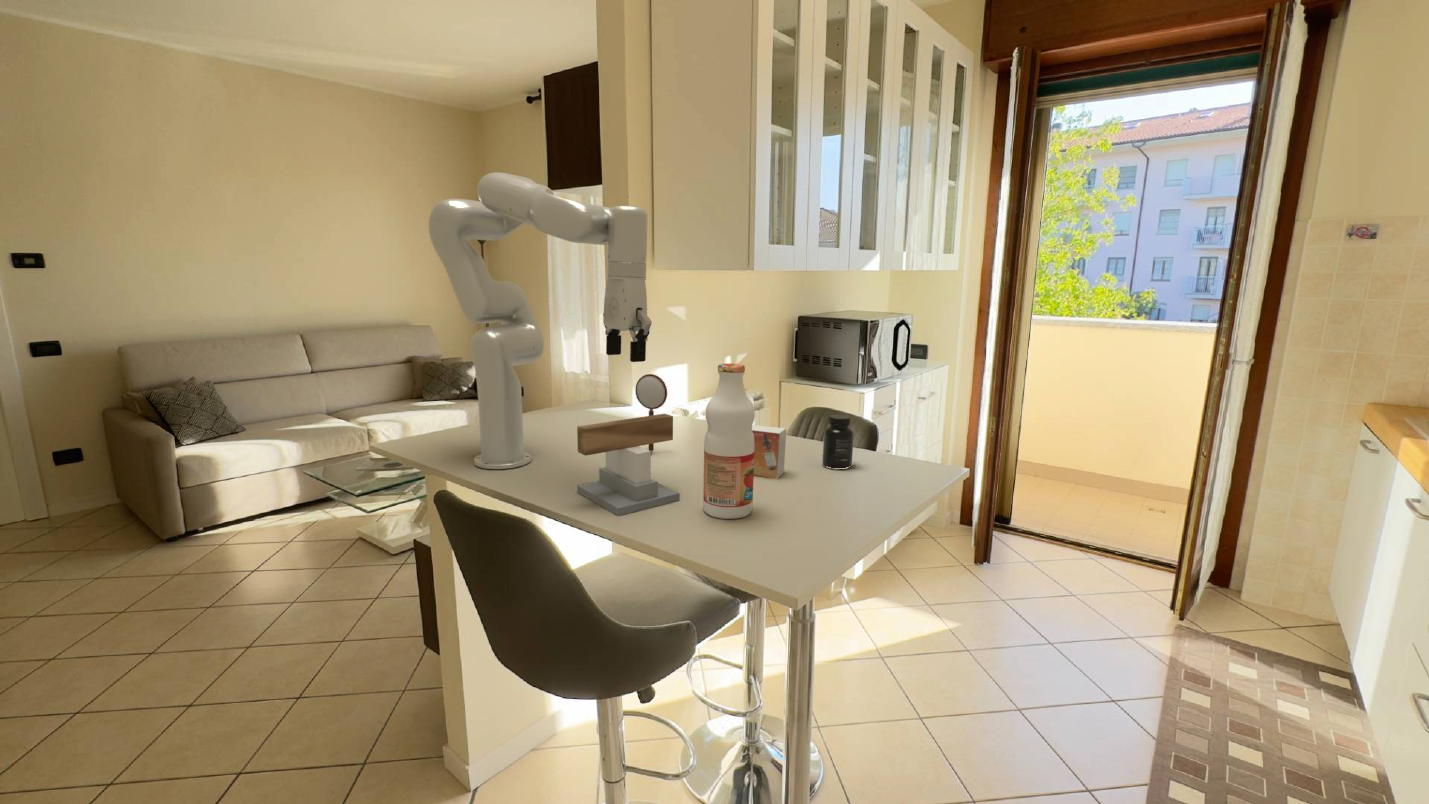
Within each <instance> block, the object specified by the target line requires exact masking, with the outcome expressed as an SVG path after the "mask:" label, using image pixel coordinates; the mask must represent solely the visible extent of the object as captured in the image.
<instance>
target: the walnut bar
mask: <svg viewBox="0 0 1429 804" xmlns="http://www.w3.org/2000/svg"><path fill="white" fill-rule="evenodd" d="M576 427H577V428H576V429H577V432H576V433H577V435H576V436H577V453H579V454H581V455H583V456H585V457H586V456H591V455H596V454H603V453H606V452H609V451H614V450H620V449H625V448H631V447H637V446H639V447H642V446H646V445H648V446H649V444H653V443H654V444H657V443H659V444H660V443H663V442H664V443H665V442H670V441H673V440H674V416H673V415H670V414H668V413H659V414H658V413H657V414H654V415H651V416H649V415H646V416H639V417H633V418H627V419H626V418H625V419H620V420H619V419H618V420H612V421H604V422H598V423H597V422H596V423H591V424H585V425H579V426H576Z"/></svg>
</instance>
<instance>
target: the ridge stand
mask: <svg viewBox="0 0 1429 804" xmlns="http://www.w3.org/2000/svg"><path fill="white" fill-rule="evenodd" d="M651 458H652V454H651V451H650V450H649V449H646V448H643V447H642V446H637V447H631V448H625V449H620V450H614V451H609V452H605V467H600V468H598V477H599V478H598V480H597V481H591V482H587V483H583V484H577V485H576V493H577V492H578V494H579V495H581V496H583V497H584V498H586V499H588V500H589V501H592V502H594V504H597V505H598V506H600V507H602V508H603V509H605V510H607V511H609V512H611V513H613V514H614V515H616V516H618V517H619V516H623V515H628V514H631V513H635V512H638V511H639V512H640V511H643V510H647V509H652V508H655V507H658V506H659V507H660V506H662V505H663V506H664V505H666V504H671V503H675V502H678V501H680V497H681V496H680V495H681V494H680V492H679V491H675V490H673V489H671V488H670V487H667V486H664V485H662V484H661V483H659V481H658V480H655V479H653V478H652V476H651V475H652V473H651V472H652V471H651V470H652V467H651V466H652V465H651V464H652V463H651V462H652V459H651Z"/></svg>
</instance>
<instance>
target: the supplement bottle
mask: <svg viewBox="0 0 1429 804" xmlns="http://www.w3.org/2000/svg"><path fill="white" fill-rule="evenodd" d="M828 417H829V418H828V426H827V427H826V428H825V429H824V431H823V445H822V461H821V462H822V466H823V465H824V466H828V467H831V468H846V467H849V466H851V465H852V464H853V453H854V452H853V450H854V436H855V434H854V430H853V429H852V428H851V427H850V426H851V417H850V416H849V415H846V414H845V415H843V414H831V415H829V416H828ZM824 466H823V467H824ZM851 467H852V466H851Z"/></svg>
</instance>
